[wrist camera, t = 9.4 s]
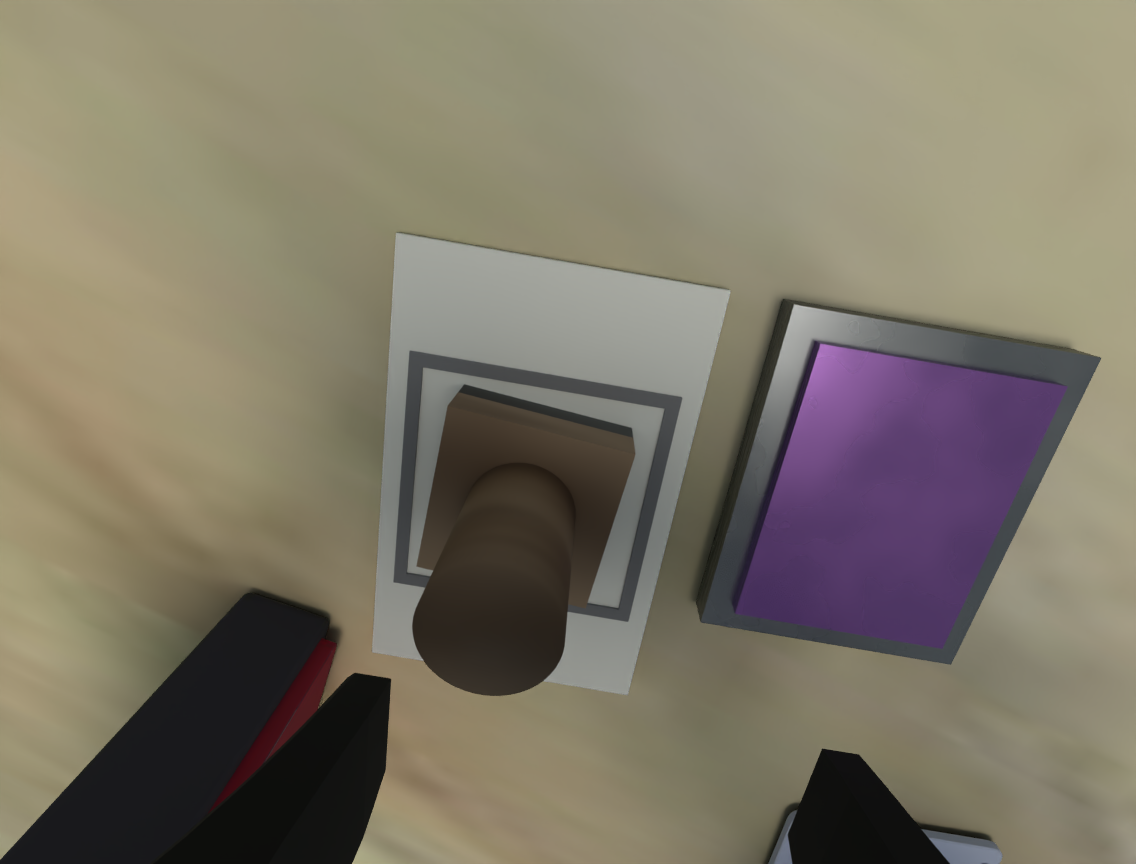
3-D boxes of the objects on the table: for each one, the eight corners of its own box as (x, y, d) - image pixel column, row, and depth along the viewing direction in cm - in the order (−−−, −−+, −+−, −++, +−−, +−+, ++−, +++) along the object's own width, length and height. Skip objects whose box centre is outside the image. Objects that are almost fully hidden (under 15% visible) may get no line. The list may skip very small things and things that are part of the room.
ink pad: (934, 643, 20) (958, 673, 19) (695, 602, 20) (702, 630, 19) (1073, 349, 16) (1114, 361, 15) (783, 298, 16) (798, 306, 15)
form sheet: (627, 688, 21) (627, 697, 21) (374, 646, 21) (370, 654, 21) (728, 289, 16) (731, 291, 16) (399, 232, 16) (394, 233, 16)
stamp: (587, 569, 19) (579, 756, 13) (434, 531, 19) (346, 701, 13) (632, 427, 18) (649, 560, 11) (464, 383, 17) (380, 492, 11)
